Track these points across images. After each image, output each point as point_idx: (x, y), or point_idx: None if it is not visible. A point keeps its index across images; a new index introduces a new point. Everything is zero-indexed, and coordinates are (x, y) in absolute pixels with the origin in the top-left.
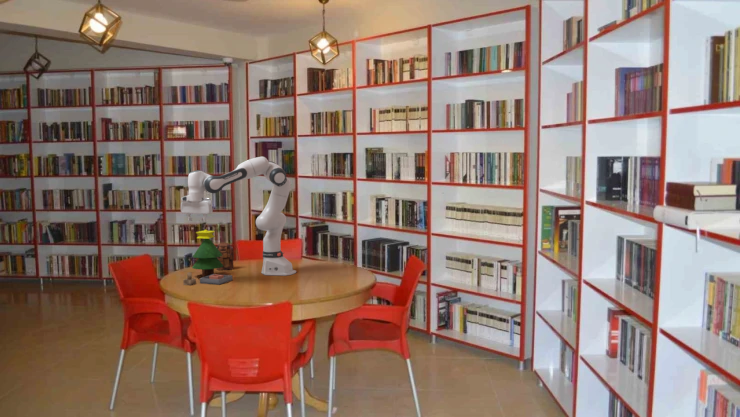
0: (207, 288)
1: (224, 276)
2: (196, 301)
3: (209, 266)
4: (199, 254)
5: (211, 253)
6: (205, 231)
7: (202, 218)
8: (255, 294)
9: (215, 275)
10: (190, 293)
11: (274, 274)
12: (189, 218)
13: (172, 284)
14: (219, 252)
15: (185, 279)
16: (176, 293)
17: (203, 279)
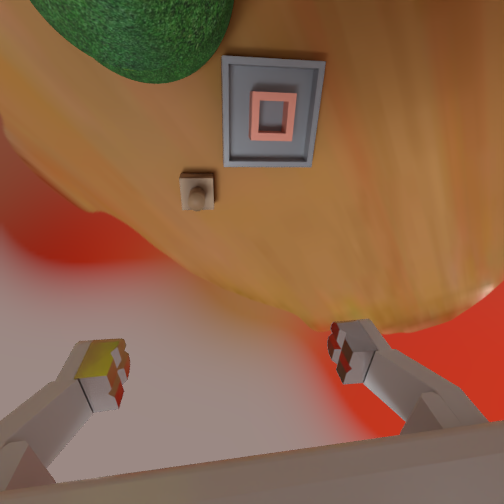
0: (293, 221)
1: (286, 67)
2: None
3: (200, 49)
4: (123, 48)
5: (198, 2)
6: None
7: (351, 377)
8: (449, 237)
9: (259, 100)
10: (279, 281)
11: None
12: (101, 405)
13: (140, 209)
14: None
15: (185, 202)
16: (243, 293)
17: (240, 166)
